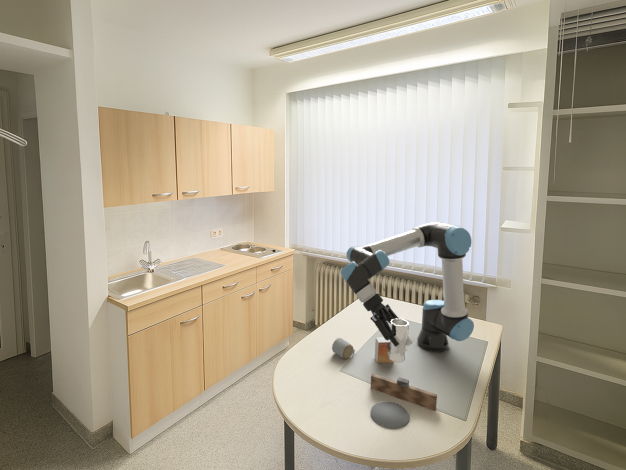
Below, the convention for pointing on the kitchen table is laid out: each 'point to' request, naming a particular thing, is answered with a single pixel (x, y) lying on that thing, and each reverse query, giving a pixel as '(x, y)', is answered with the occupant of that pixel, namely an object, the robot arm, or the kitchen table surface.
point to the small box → (382, 350)
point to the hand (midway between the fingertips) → (407, 348)
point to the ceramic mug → (342, 348)
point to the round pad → (389, 414)
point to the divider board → (404, 391)
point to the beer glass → (401, 332)
